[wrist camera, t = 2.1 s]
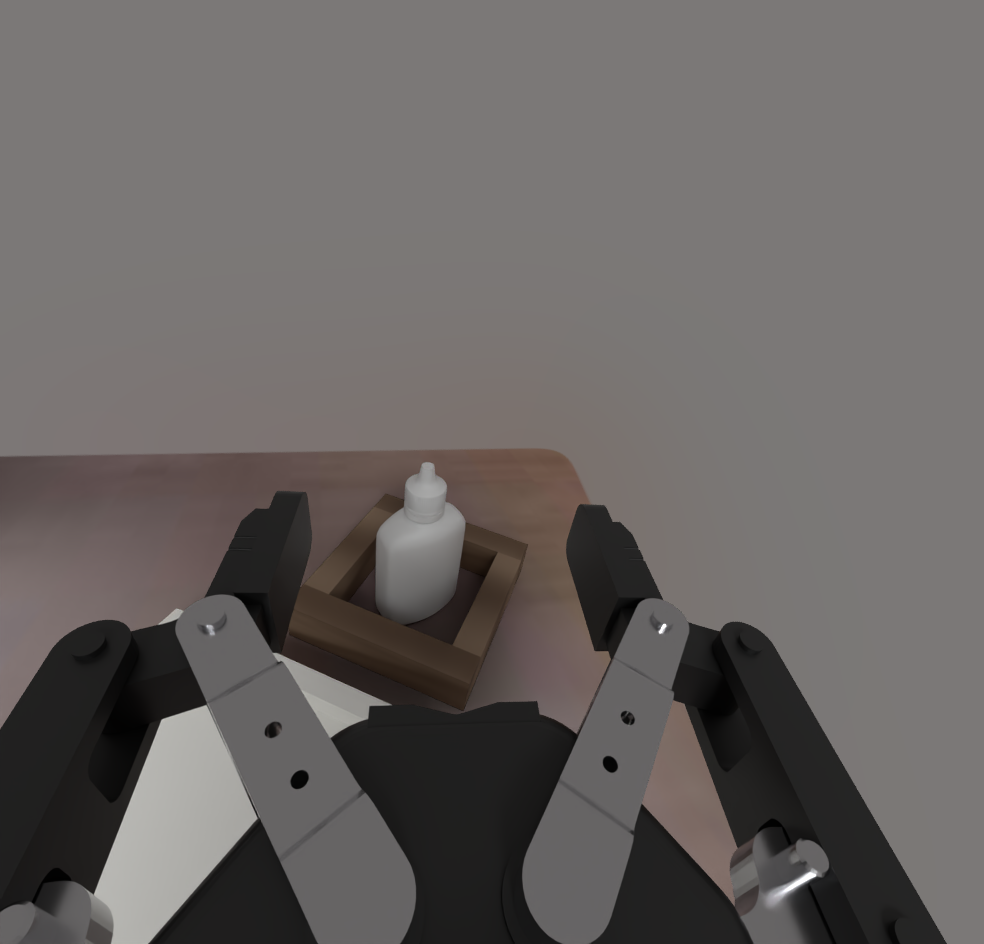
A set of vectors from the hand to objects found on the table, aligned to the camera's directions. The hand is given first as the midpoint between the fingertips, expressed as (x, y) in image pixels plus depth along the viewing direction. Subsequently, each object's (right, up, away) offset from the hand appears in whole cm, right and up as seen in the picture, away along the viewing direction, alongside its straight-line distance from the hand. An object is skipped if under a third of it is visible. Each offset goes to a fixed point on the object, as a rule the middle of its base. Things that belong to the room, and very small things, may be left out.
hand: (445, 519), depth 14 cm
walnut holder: (-4, -8, +20) cm, 21 cm away
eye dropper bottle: (-4, -8, +20) cm, 22 cm away
